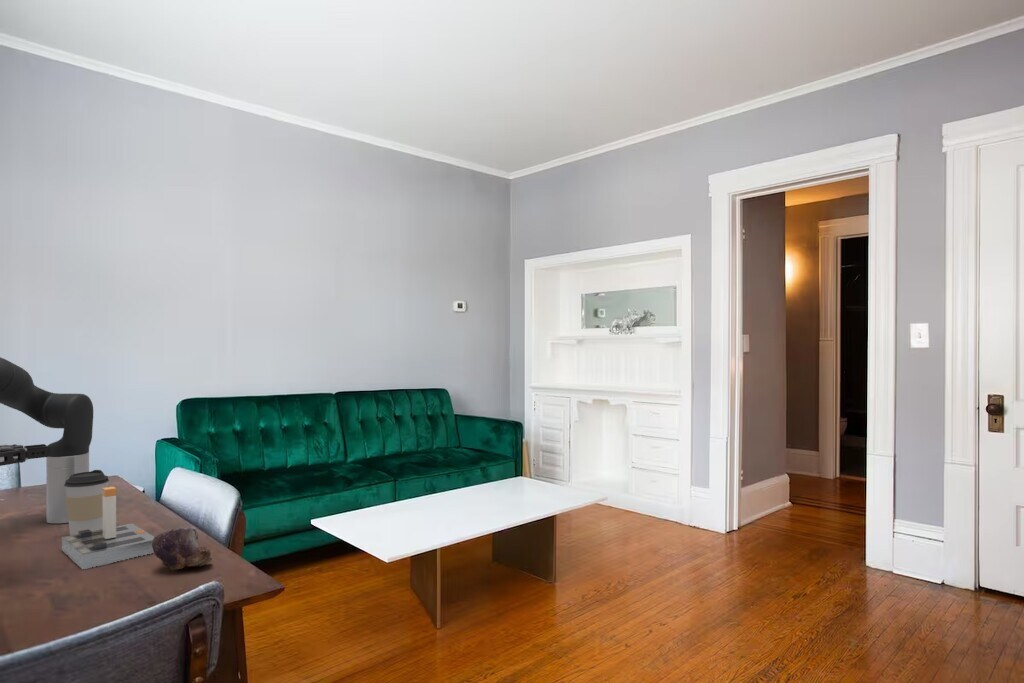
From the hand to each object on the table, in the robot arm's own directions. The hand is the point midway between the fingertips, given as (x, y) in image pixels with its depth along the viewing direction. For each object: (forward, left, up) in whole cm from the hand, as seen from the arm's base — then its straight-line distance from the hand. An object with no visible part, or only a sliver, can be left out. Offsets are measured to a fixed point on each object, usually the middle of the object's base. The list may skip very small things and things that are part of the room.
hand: (47, 450), depth 130 cm
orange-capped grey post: (0, +11, -21) cm, 24 cm away
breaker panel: (0, +11, -24) cm, 26 cm away
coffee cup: (-19, +11, -24) cm, 33 cm away
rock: (+22, +18, -24) cm, 38 cm away
